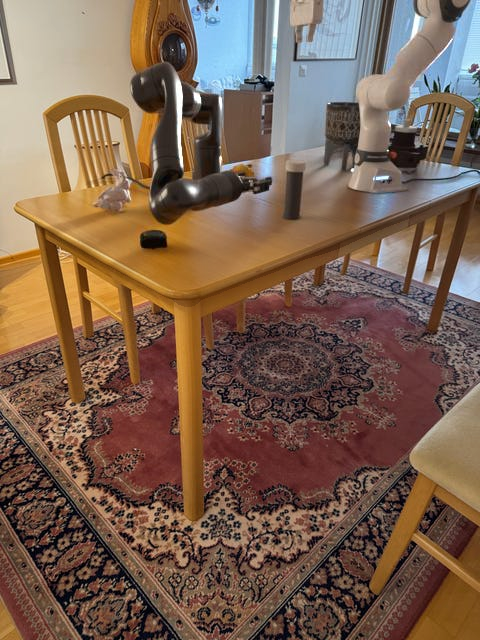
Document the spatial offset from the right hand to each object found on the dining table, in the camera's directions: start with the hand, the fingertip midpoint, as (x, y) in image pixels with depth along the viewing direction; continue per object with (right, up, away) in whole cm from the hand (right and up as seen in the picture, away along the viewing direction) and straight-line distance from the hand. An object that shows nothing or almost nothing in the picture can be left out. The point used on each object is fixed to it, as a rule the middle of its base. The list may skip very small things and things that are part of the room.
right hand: (304, 42), depth 147 cm
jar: (-5, -58, -4) cm, 58 cm away
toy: (-20, -32, +40) cm, 55 cm away
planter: (+26, -19, +63) cm, 71 cm away
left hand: (-16, -53, -26) cm, 61 cm away
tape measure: (-43, -72, -30) cm, 89 cm away
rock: (+36, +1, +98) cm, 104 cm away
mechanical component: (+55, -20, +63) cm, 86 cm away
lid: (-4, -43, -12) cm, 45 cm away
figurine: (-61, -55, -2) cm, 82 cm away
